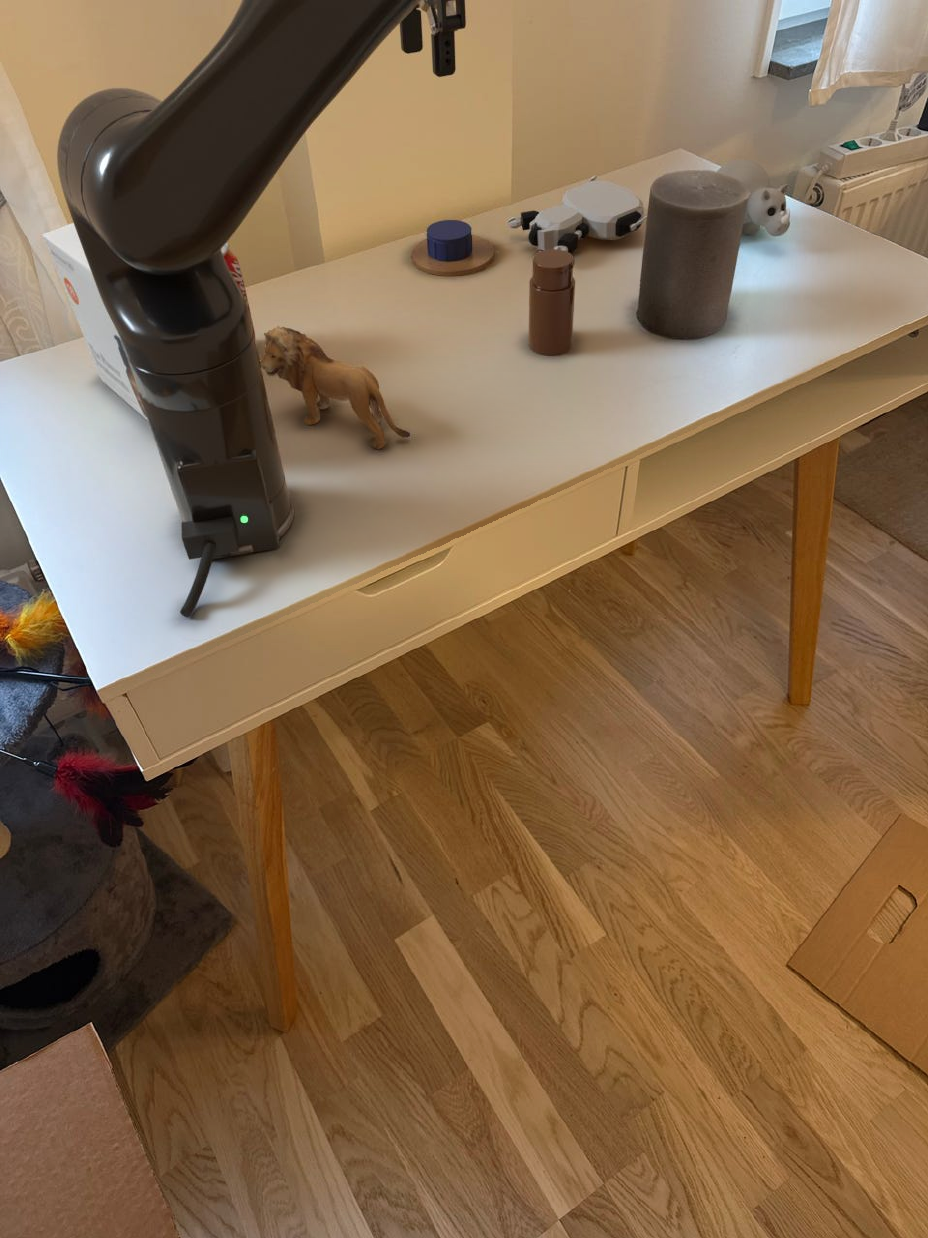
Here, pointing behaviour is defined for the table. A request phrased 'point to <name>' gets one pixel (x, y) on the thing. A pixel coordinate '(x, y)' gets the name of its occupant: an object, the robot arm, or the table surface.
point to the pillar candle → (690, 252)
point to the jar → (551, 302)
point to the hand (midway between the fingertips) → (428, 62)
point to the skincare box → (92, 314)
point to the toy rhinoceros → (760, 198)
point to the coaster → (472, 263)
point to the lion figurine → (325, 380)
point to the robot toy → (584, 216)
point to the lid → (449, 240)
